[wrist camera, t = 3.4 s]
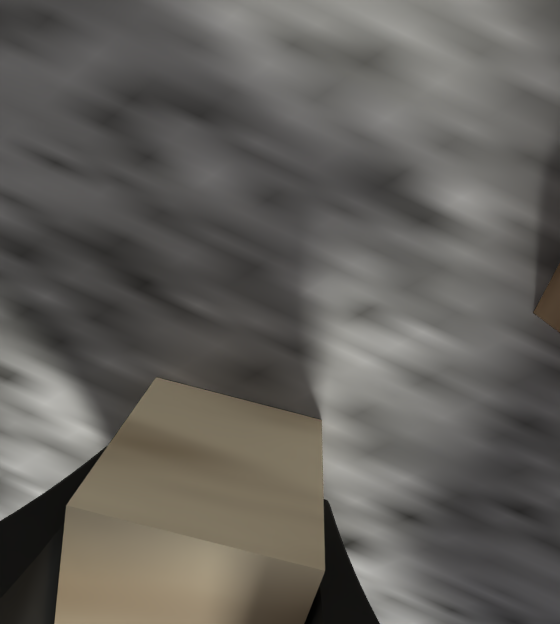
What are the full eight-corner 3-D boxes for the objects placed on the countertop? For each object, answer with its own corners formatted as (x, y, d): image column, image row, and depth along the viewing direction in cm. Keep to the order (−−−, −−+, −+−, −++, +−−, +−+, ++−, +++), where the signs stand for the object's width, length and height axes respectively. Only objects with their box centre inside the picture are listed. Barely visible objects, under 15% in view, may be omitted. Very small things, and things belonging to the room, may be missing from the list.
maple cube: (280, 543, 15) (264, 725, 10) (133, 506, 15) (49, 672, 10) (321, 420, 13) (325, 571, 8) (156, 377, 13) (66, 505, 8)
